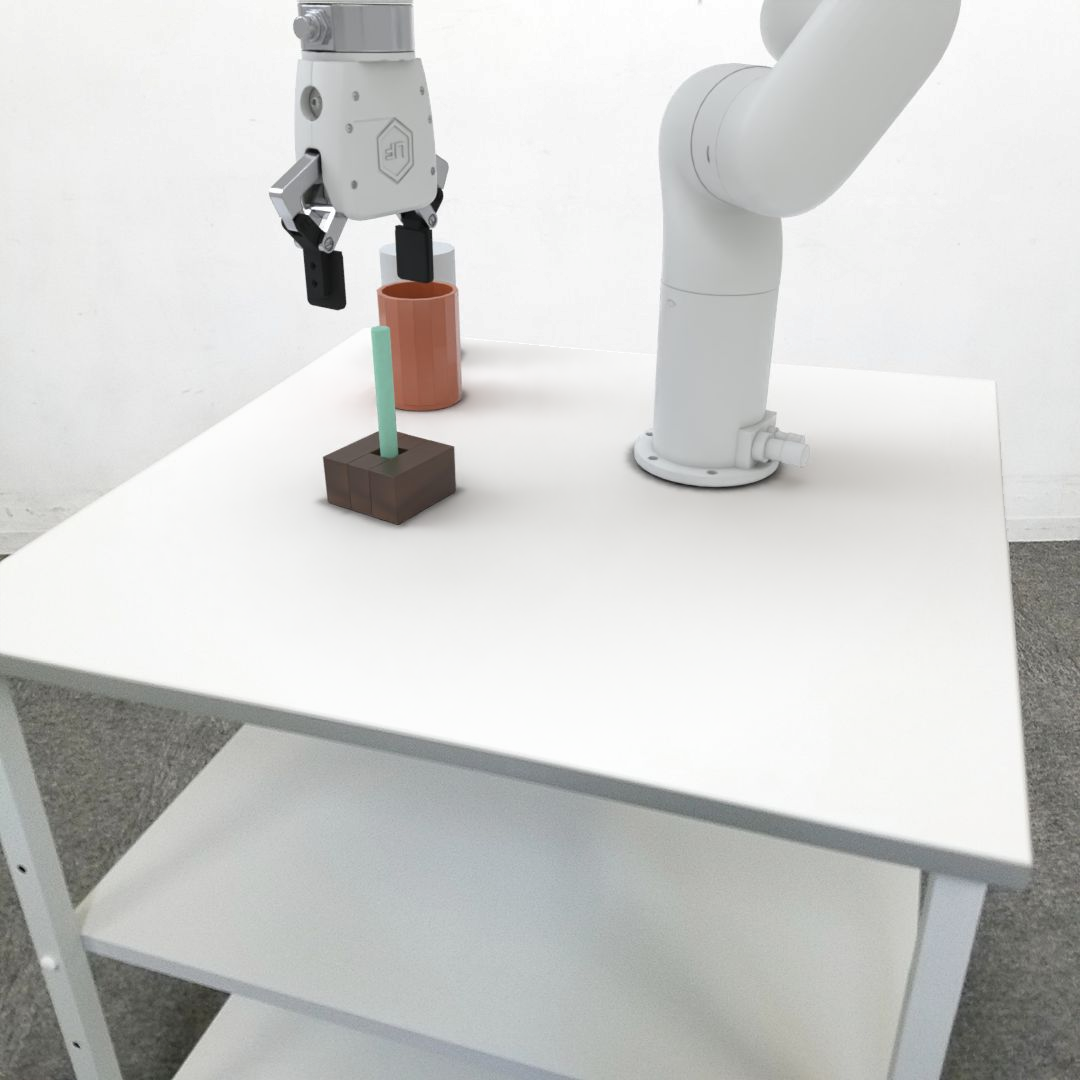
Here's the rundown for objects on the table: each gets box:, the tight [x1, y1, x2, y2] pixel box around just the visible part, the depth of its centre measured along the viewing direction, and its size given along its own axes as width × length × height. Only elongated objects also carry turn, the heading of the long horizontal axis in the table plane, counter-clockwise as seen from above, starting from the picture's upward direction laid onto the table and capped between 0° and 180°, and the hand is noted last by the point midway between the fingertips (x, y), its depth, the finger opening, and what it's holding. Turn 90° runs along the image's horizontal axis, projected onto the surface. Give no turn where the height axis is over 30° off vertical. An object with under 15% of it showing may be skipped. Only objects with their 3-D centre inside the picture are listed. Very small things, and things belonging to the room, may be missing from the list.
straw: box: [370, 325, 398, 459], centre depth 81 cm, size 1×1×14 cm
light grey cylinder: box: [378, 240, 457, 287], centre depth 115 cm, size 8×8×12 cm
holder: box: [322, 430, 457, 525], centre depth 83 cm, size 7×7×4 cm
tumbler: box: [376, 281, 463, 412], centre depth 103 cm, size 8×8×11 cm
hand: (373, 293), depth 76 cm, fingers open, 9 cm apart
